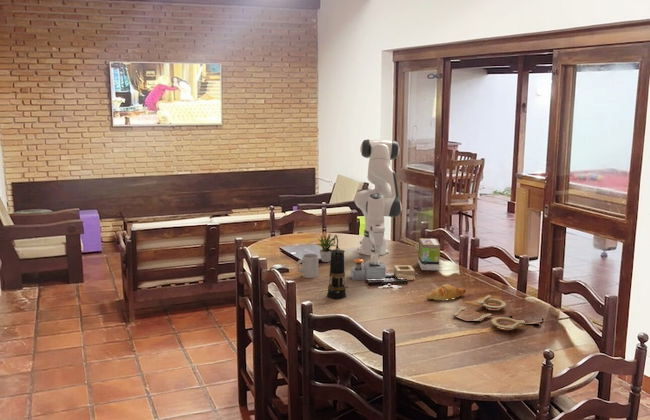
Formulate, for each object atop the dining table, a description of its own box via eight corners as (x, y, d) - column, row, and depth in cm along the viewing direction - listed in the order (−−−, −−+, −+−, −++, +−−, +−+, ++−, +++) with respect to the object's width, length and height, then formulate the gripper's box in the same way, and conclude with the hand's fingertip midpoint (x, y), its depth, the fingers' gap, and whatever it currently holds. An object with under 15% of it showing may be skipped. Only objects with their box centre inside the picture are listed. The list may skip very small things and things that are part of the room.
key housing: (350, 276, 325) (350, 267, 324) (363, 275, 325) (363, 266, 324) (352, 280, 318) (352, 270, 317) (365, 279, 319) (366, 270, 318)
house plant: (338, 265, 344) (339, 236, 341) (314, 264, 345) (314, 236, 341) (338, 258, 358) (339, 230, 355) (315, 257, 359) (315, 230, 355)
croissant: (429, 309, 288) (434, 297, 283) (420, 293, 295) (424, 282, 290) (467, 302, 295) (472, 291, 290) (457, 287, 302) (462, 276, 297)
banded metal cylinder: (369, 272, 324) (370, 247, 321) (377, 272, 324) (378, 247, 321) (371, 275, 320) (371, 249, 317) (378, 275, 320) (379, 249, 317)
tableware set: (445, 316, 270) (445, 307, 269) (480, 300, 290) (481, 292, 289) (518, 340, 246) (519, 330, 245) (551, 321, 266) (552, 312, 265)
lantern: (349, 294, 296) (350, 234, 290) (340, 300, 288) (341, 238, 282) (333, 291, 300) (333, 232, 294) (323, 297, 292) (324, 236, 286)
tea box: (439, 270, 336) (440, 244, 333) (421, 270, 336) (422, 244, 333) (435, 262, 350) (436, 237, 348) (417, 262, 351) (418, 237, 348)
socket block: (363, 274, 327) (363, 262, 325) (381, 274, 328) (382, 262, 326) (366, 280, 317) (366, 267, 316) (385, 280, 318) (385, 267, 317)
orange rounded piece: (352, 274, 324) (353, 258, 322) (362, 274, 324) (362, 258, 322) (354, 277, 319) (354, 261, 317) (363, 277, 319) (364, 261, 317)
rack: (393, 274, 328) (393, 265, 327) (410, 273, 329) (410, 265, 328) (397, 280, 319) (397, 270, 318) (414, 279, 320) (414, 270, 318)
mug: (314, 272, 330) (314, 252, 328) (321, 276, 323) (321, 256, 321) (293, 275, 325) (293, 255, 323) (300, 279, 318) (300, 259, 316)
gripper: (366, 221, 327) (366, 246, 329) (373, 229, 307) (372, 256, 309) (378, 220, 327) (377, 246, 330) (385, 229, 307) (384, 255, 310)
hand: (375, 251), depth 319 cm, fingers open, 8 cm apart
